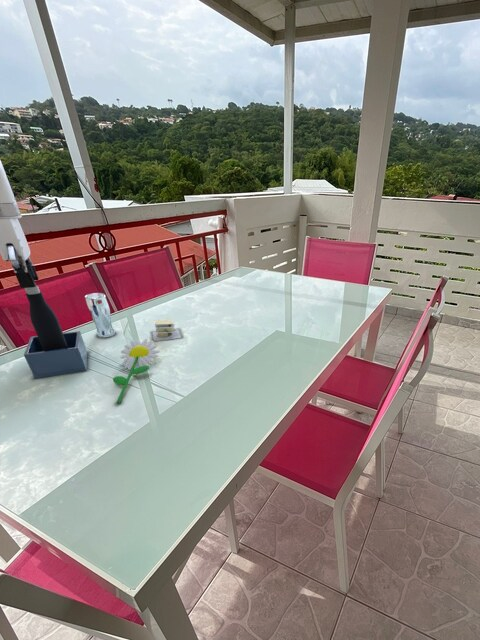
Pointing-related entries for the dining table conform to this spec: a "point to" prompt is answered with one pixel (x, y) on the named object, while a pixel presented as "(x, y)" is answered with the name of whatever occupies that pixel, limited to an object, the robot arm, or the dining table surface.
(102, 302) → the beer glass
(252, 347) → the dining table surface
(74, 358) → the blue grey open box
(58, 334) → the wine bottle
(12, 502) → the dining table surface
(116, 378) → the decorative flower
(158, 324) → the stacked layers on plate
